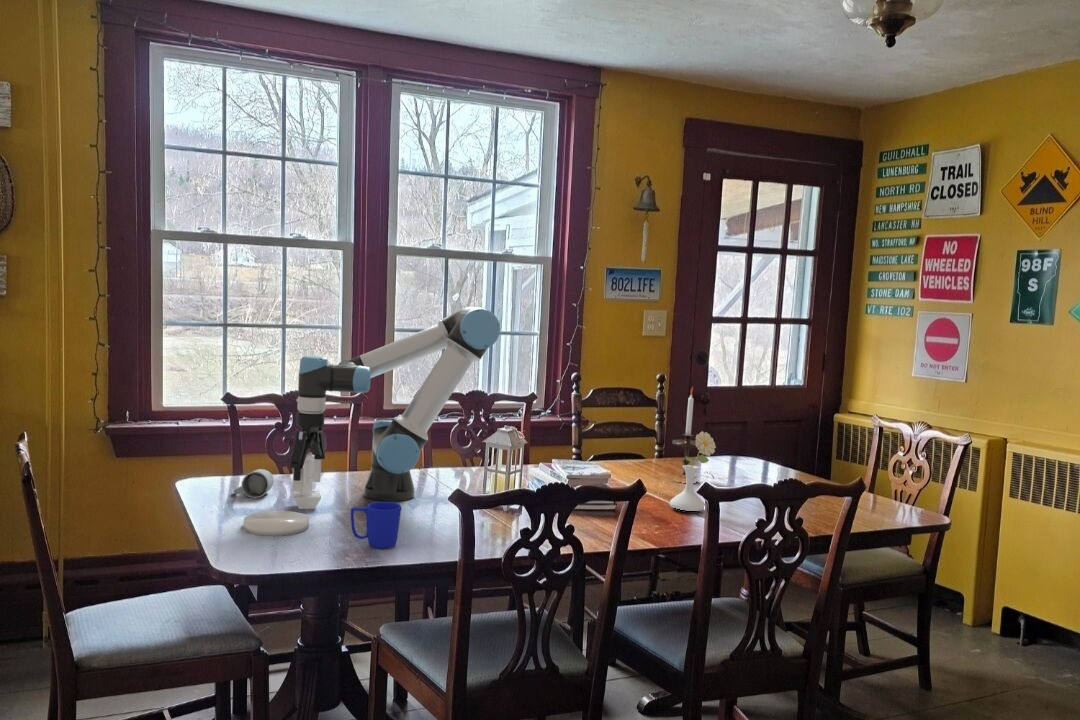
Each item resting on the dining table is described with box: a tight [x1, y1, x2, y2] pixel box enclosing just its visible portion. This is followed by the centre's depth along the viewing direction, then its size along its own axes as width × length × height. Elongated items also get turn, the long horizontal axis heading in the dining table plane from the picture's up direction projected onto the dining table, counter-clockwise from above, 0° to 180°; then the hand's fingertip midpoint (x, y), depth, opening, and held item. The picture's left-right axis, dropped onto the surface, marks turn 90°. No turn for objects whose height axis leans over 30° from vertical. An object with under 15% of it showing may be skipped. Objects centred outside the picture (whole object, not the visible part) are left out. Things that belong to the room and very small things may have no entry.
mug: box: [350, 501, 402, 550], centre depth 203 cm, size 8×12×10 cm
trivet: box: [242, 510, 310, 537], centre depth 213 cm, size 16×16×2 cm
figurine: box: [292, 453, 322, 510], centre depth 234 cm, size 7×9×15 cm
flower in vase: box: [668, 430, 717, 512], centre depth 259 cm, size 13×11×25 cm
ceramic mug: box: [233, 468, 275, 499], centre depth 244 cm, size 11×8×8 cm
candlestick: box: [672, 385, 697, 475], centre depth 302 cm, size 11×11×35 cm
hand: (306, 486), depth 234 cm, fingers open, 13 cm apart
